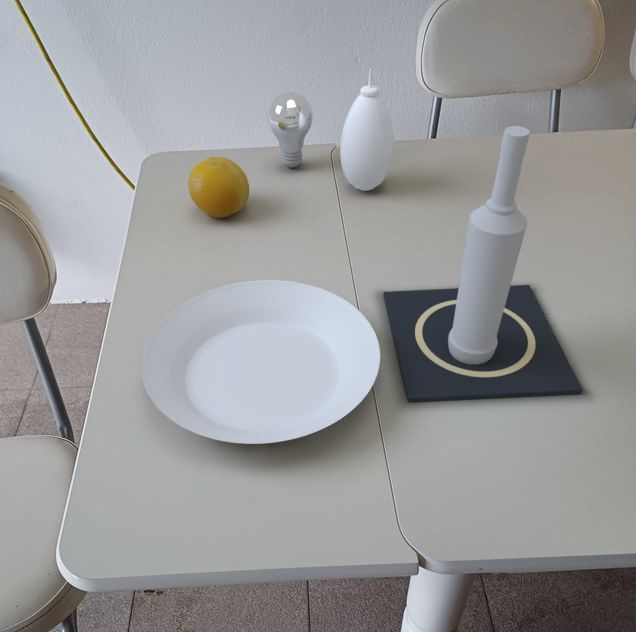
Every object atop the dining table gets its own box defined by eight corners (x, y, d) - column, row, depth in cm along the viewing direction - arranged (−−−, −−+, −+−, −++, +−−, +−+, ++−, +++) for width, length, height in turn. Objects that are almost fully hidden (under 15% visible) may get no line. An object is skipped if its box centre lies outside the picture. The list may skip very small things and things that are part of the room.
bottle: (443, 361, 70) (482, 141, 53) (449, 331, 74) (487, 116, 57) (493, 370, 69) (549, 147, 52) (496, 338, 72) (549, 121, 55)
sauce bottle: (384, 203, 96) (393, 80, 84) (334, 197, 98) (335, 76, 86) (394, 178, 102) (404, 60, 89) (346, 173, 104) (349, 56, 91)
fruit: (260, 205, 97) (257, 155, 92) (233, 231, 92) (227, 180, 87) (211, 193, 100) (205, 144, 95) (181, 218, 95) (173, 168, 90)
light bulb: (299, 181, 102) (297, 106, 94) (262, 171, 105) (257, 98, 97) (321, 162, 107) (320, 89, 98) (285, 154, 109) (282, 82, 101)
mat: (528, 288, 80) (529, 283, 79) (581, 393, 67) (583, 388, 66) (383, 295, 80) (383, 290, 80) (407, 402, 67) (408, 397, 66)
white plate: (397, 323, 76) (400, 299, 74) (346, 494, 59) (347, 470, 56) (202, 289, 82) (199, 266, 80) (104, 435, 65) (96, 411, 63)
